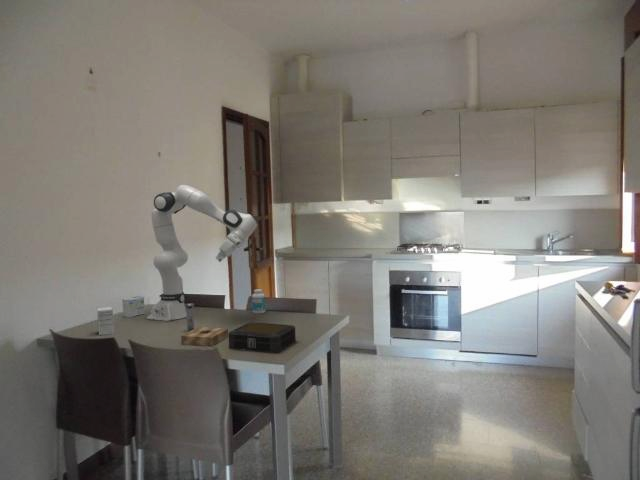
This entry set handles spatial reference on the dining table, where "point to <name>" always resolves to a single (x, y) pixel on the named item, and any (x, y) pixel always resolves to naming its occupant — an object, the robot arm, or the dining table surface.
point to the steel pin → (190, 316)
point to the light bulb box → (133, 306)
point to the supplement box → (105, 320)
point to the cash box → (262, 337)
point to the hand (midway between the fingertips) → (217, 260)
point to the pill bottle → (258, 301)
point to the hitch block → (204, 336)
